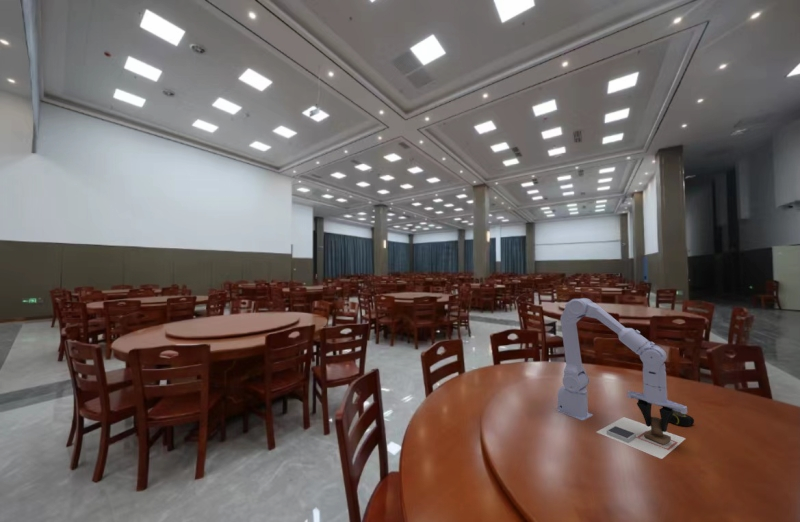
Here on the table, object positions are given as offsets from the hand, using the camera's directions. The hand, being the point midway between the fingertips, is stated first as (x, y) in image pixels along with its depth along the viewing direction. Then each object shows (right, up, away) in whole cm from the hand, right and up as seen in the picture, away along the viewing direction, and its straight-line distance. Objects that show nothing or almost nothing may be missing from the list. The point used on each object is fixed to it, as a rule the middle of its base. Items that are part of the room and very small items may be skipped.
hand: (656, 428), depth 93 cm
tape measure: (+19, -5, +12) cm, 23 cm away
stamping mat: (-3, -4, +3) cm, 6 cm away
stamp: (0, -4, 0) cm, 4 cm away
